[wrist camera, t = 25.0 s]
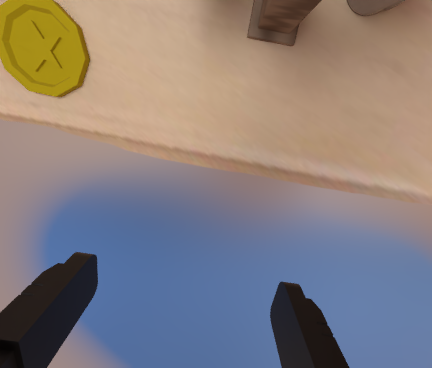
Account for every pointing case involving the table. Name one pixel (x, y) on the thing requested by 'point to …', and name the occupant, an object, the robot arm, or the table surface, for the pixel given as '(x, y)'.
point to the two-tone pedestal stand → (278, 19)
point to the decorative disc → (42, 46)
